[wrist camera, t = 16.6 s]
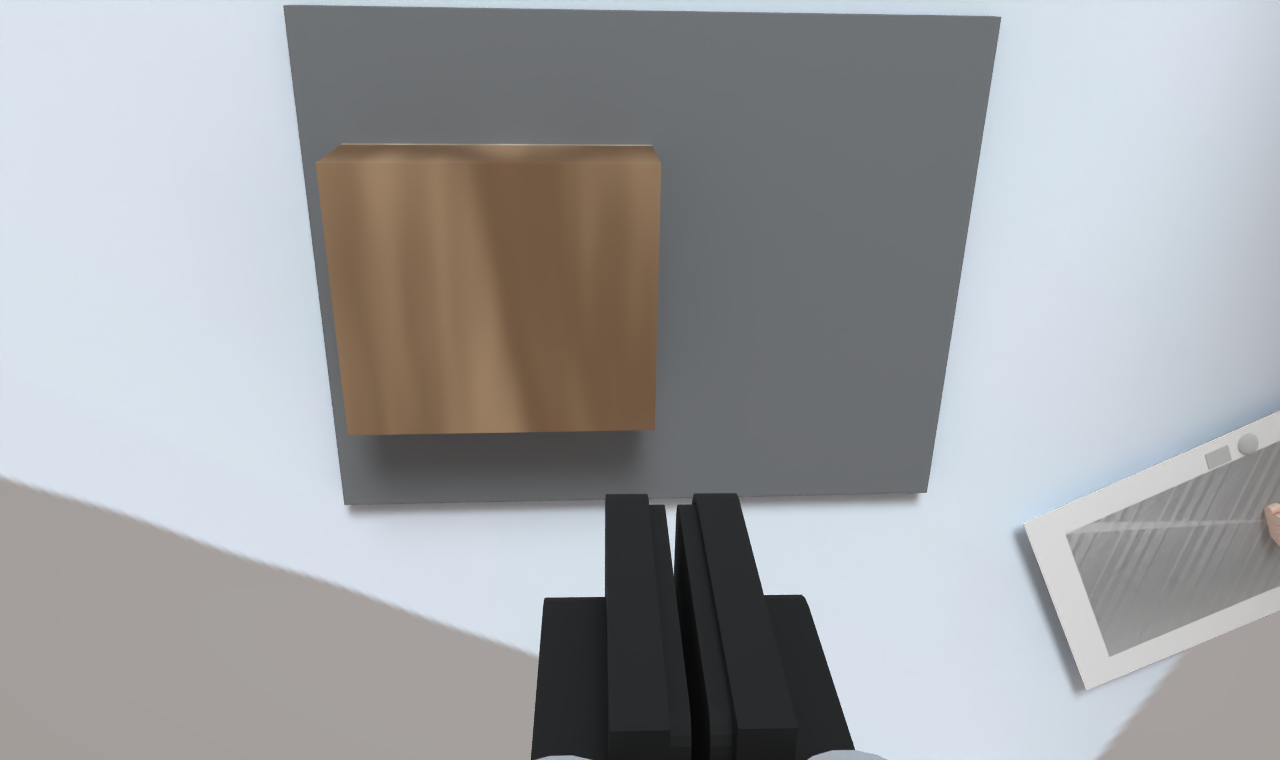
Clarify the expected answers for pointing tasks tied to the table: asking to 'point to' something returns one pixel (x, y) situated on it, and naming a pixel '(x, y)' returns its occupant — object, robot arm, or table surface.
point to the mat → (696, 228)
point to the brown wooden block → (493, 285)
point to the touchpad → (1167, 554)
